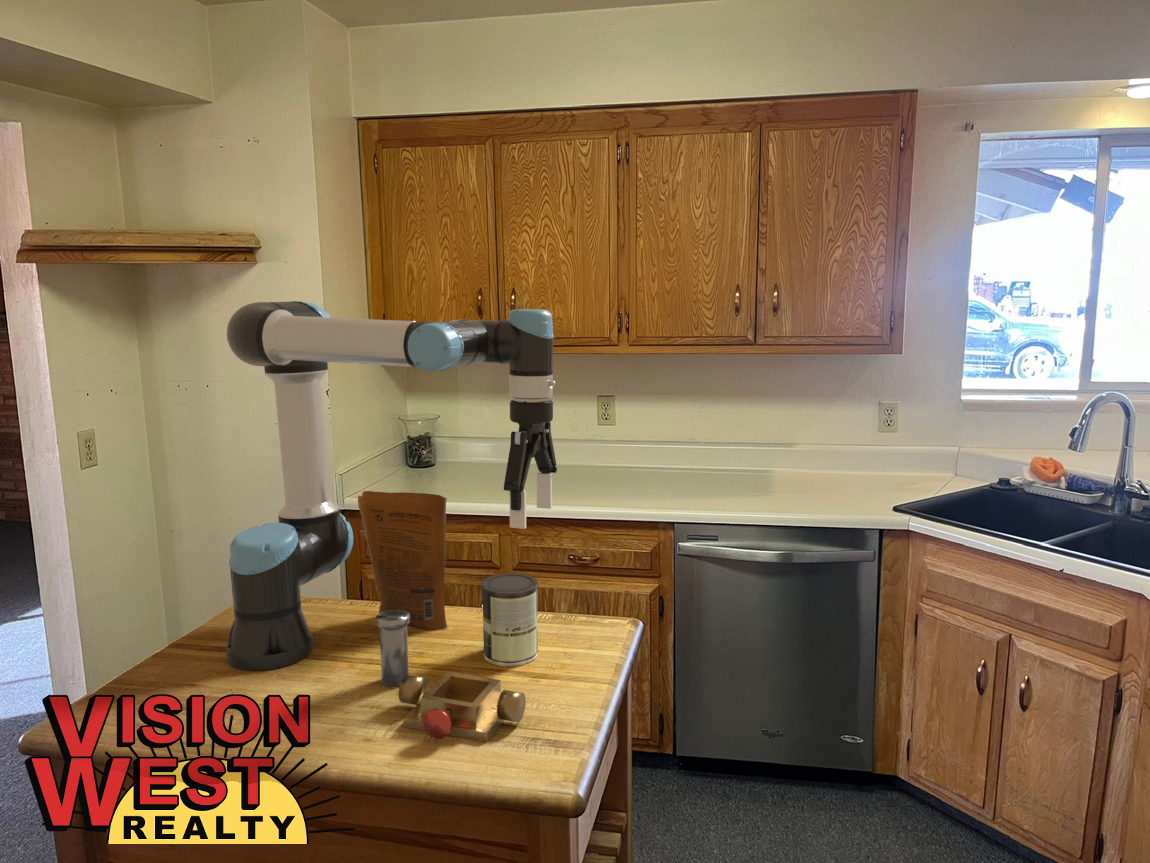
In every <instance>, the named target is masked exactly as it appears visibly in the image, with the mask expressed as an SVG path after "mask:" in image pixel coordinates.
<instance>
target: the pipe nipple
mask: <svg viewBox="0 0 1150 863" xmlns="http://www.w3.org/2000/svg"><path fill="white" fill-rule="evenodd" d="M409 622H410V614H409V612H407V611H405V610H387V611H383V612H381V613H379V612H378V613H377V615H376V616H375V626H377V627H378V628H379V646H380V648H379V649H380V651H379V652H380V669H381V670H380V671H381V672H380V673H381V685H382V684H383V685H384V686H383V685H382V686H383V687H386V688H388V689H389V688H390V689H393V687H397V688H399V687H400V684H401V681H402V679H403V678H404V677H405V676H406V675H410V674H409V672H410V671H409V670H410V668H409V666H410V665H409V646H408V643H409V640H408V639H409V638H408V627H407V625H408V624H409Z"/></svg>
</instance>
